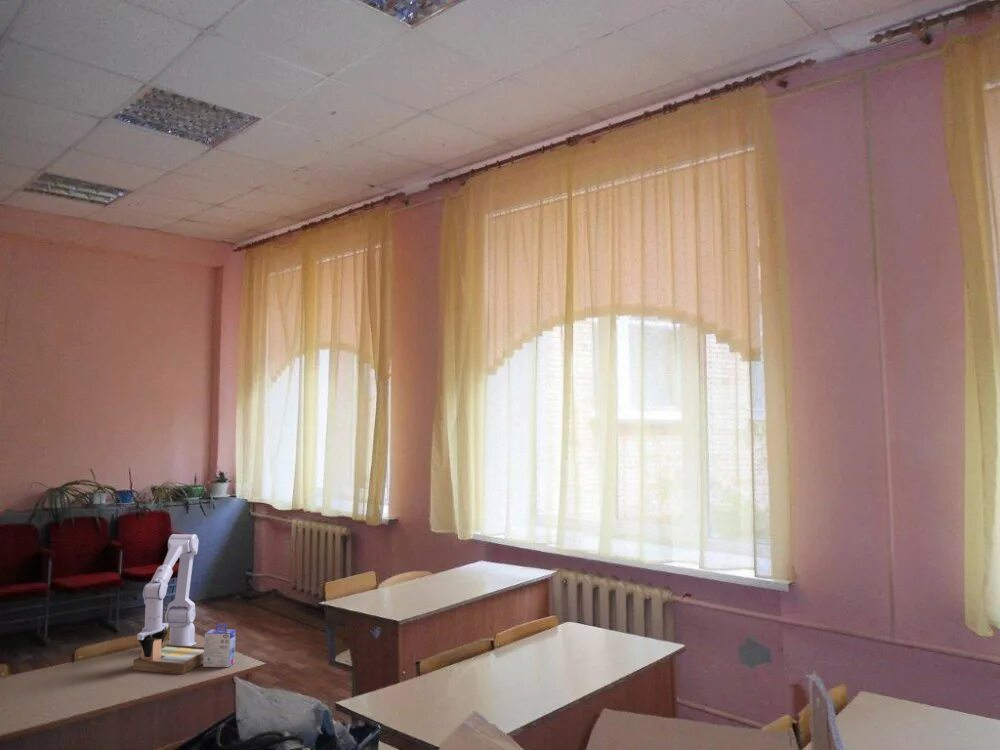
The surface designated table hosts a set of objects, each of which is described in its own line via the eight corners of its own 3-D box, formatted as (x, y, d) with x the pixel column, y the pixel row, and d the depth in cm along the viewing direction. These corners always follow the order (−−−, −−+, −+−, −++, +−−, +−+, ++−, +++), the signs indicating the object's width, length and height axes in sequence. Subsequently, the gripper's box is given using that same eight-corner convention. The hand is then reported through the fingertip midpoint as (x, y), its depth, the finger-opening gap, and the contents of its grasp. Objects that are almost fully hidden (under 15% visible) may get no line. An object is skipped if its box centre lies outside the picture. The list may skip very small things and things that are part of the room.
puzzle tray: (165, 653, 268) (165, 644, 269) (212, 657, 265) (213, 647, 265) (133, 669, 251) (133, 659, 251) (183, 674, 247) (183, 664, 247)
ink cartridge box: (235, 662, 259) (237, 622, 260) (229, 667, 254) (230, 627, 255) (209, 661, 260) (210, 622, 261) (202, 667, 254) (204, 626, 255)
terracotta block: (149, 657, 257) (150, 638, 258) (161, 658, 256) (161, 638, 257) (141, 662, 253) (141, 642, 253) (152, 662, 252) (153, 642, 252)
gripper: (157, 610, 263) (155, 647, 262) (130, 621, 249) (128, 660, 248) (173, 611, 262) (172, 648, 261) (148, 622, 248) (146, 661, 247)
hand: (152, 654), depth 255 cm, fingers closed on terracotta block, 4 cm apart
